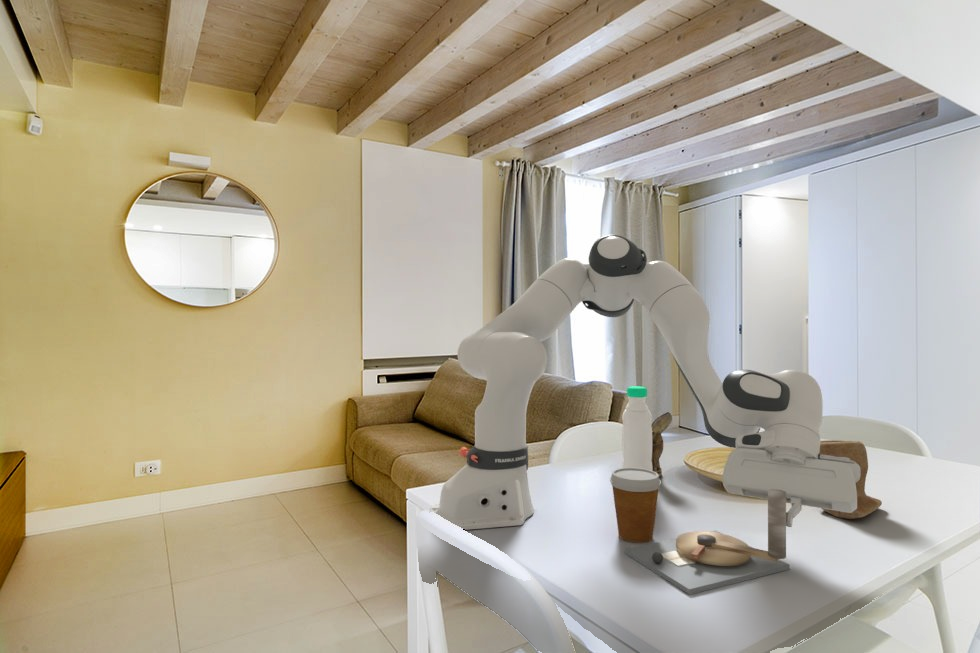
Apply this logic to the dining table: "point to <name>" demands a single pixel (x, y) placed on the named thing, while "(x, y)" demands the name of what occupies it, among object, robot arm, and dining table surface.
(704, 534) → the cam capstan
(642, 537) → the disposable coffee cup
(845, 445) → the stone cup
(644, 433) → the water bottle
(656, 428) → the stone sculpture
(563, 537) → the dining table surface
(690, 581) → the base board
